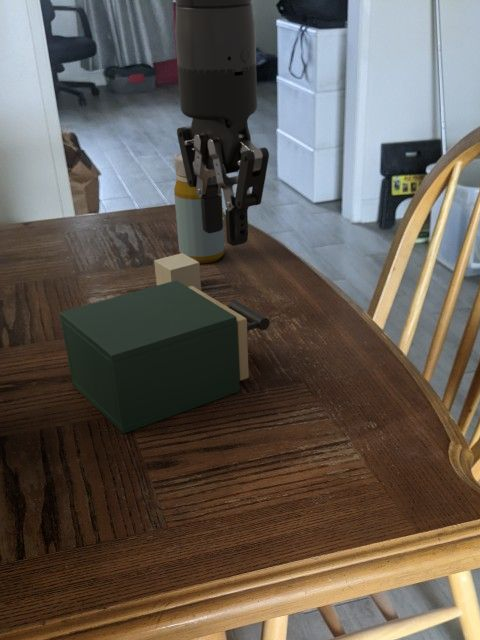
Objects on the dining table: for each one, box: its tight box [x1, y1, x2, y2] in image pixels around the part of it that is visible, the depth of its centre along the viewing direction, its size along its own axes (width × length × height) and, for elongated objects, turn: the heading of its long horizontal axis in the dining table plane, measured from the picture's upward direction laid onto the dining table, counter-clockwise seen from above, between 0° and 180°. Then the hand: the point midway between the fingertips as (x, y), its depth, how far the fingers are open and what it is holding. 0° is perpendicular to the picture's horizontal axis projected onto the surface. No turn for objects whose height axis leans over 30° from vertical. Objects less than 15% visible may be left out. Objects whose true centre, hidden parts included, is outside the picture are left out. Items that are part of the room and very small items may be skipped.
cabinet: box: [59, 280, 241, 435], centre depth 86 cm, size 15×13×9 cm
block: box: [153, 253, 202, 291], centre depth 109 cm, size 5×5×5 cm
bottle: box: [173, 151, 225, 265], centre depth 117 cm, size 7×7×15 cm
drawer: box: [188, 286, 271, 382], centre depth 88 cm, size 18×11×7 cm, turn 126°
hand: (225, 236), depth 84 cm, fingers open, 4 cm apart
